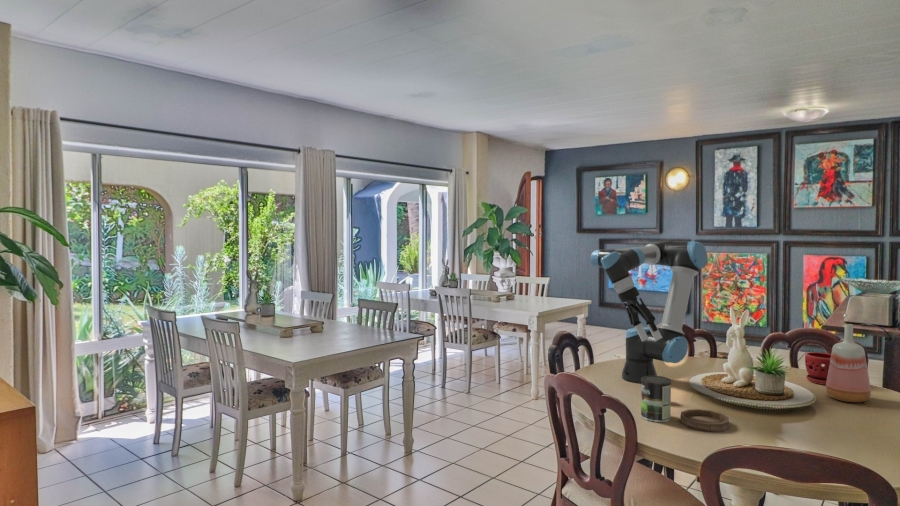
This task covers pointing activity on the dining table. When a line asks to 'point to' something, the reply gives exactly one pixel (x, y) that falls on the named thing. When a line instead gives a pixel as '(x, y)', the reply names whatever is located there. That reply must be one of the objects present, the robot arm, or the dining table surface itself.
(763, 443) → the dining table surface
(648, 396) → the coffee can
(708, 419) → the tray
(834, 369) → the vase
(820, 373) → the plant pot
